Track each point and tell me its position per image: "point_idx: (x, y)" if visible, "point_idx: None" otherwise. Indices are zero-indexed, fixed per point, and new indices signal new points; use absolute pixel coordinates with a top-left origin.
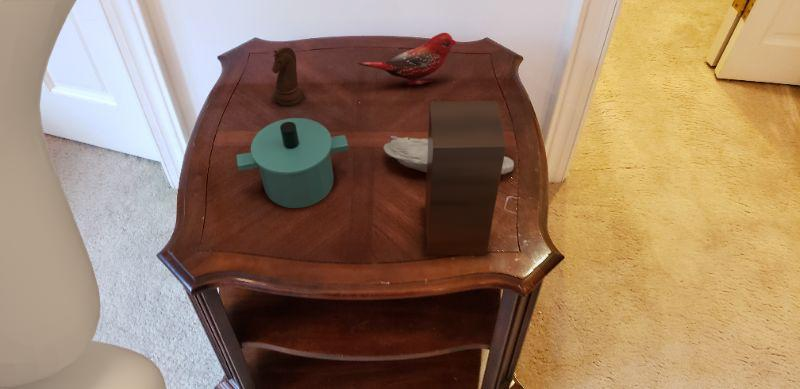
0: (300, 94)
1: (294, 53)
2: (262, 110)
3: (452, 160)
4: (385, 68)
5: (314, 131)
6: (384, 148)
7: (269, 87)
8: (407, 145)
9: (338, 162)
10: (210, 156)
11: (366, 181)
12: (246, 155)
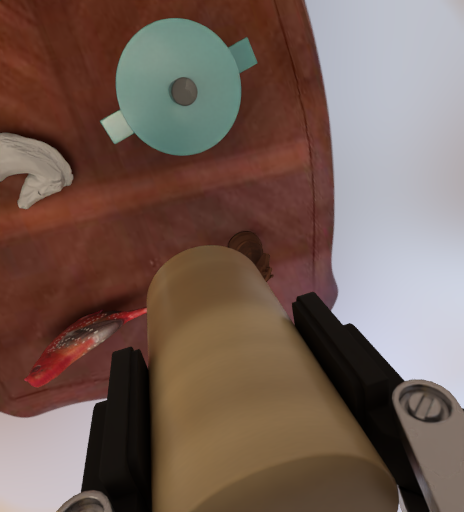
0: None
1: None
2: (269, 216)
3: None
4: (123, 313)
5: (156, 128)
6: (65, 162)
7: (274, 258)
8: (21, 162)
9: (135, 143)
10: (304, 116)
11: (81, 113)
12: (242, 64)
